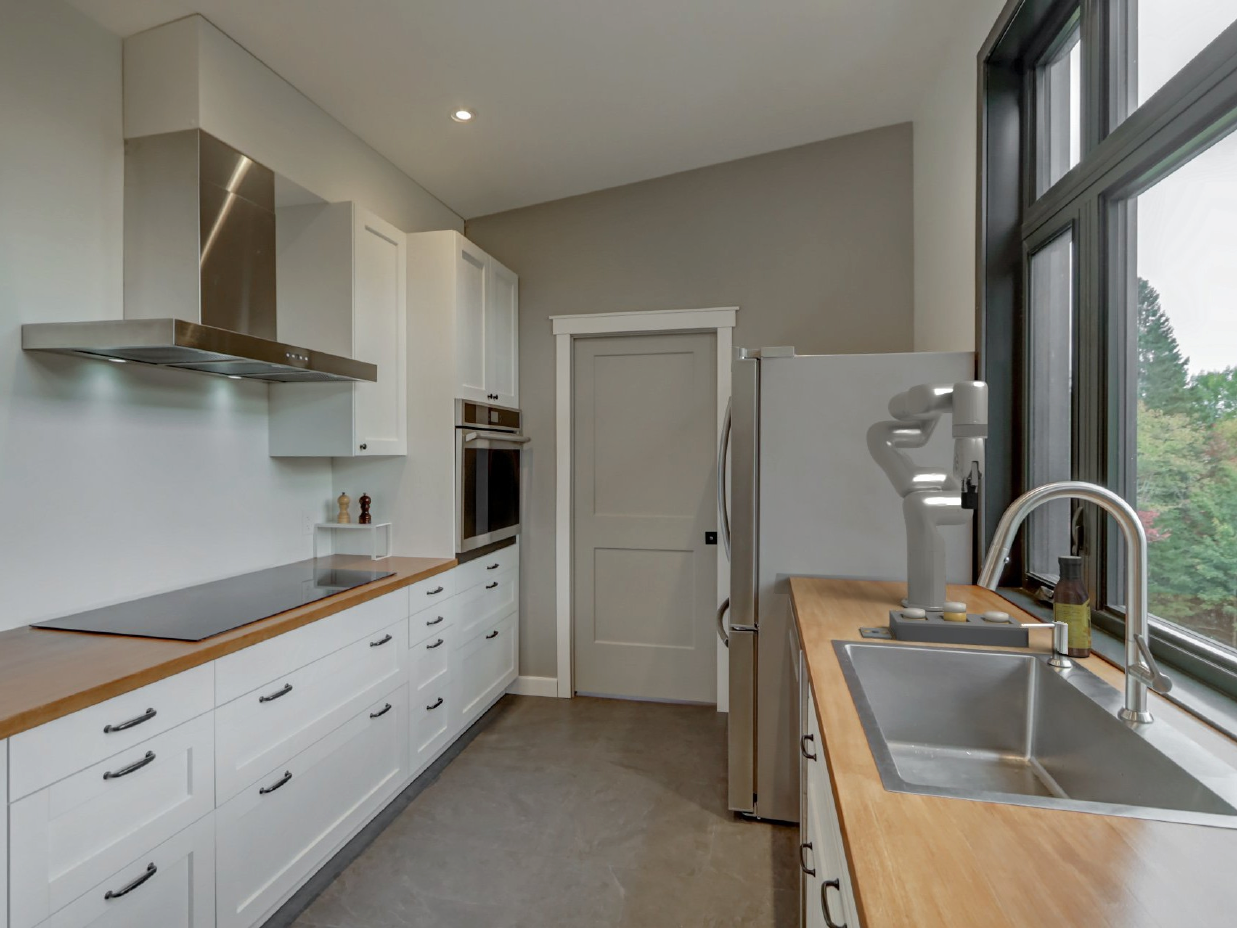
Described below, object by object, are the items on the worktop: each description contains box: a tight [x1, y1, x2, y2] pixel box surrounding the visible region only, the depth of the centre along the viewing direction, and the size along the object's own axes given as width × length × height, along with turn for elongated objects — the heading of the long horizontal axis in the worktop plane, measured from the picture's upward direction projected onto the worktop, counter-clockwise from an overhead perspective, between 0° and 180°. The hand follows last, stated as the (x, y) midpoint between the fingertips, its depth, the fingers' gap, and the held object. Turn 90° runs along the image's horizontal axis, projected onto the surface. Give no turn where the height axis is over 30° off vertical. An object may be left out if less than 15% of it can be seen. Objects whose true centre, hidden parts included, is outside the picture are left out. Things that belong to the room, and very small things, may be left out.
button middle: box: [942, 601, 967, 622], centre depth 149 cm, size 5×5×6 cm
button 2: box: [984, 610, 1009, 624], centre depth 147 cm, size 5×5×6 cm
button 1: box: [902, 607, 926, 620], centre depth 151 cm, size 5×5×6 cm
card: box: [859, 626, 893, 640], centre depth 152 cm, size 8×6×1 cm
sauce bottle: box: [1052, 555, 1092, 658], centre depth 135 cm, size 6×6×20 cm
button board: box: [888, 609, 1030, 648], centre depth 149 cm, size 12×26×4 cm, turn 75°
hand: (969, 508), depth 159 cm, fingers closed
